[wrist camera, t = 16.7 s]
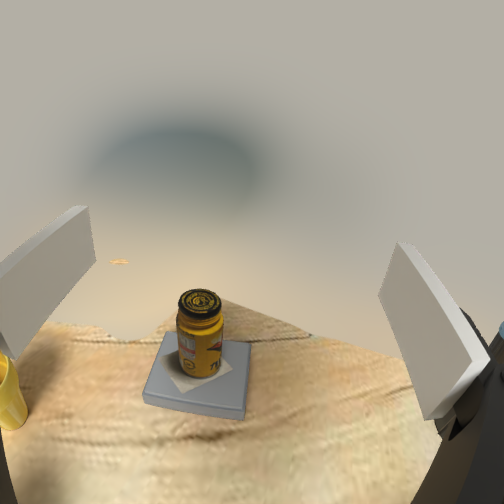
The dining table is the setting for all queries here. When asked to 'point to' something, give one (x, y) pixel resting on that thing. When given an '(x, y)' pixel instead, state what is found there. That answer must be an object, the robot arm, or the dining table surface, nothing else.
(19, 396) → the plant pot
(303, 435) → the dining table surface
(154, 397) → the grey square coaster
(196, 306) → the condiment
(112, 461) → the dining table surface
